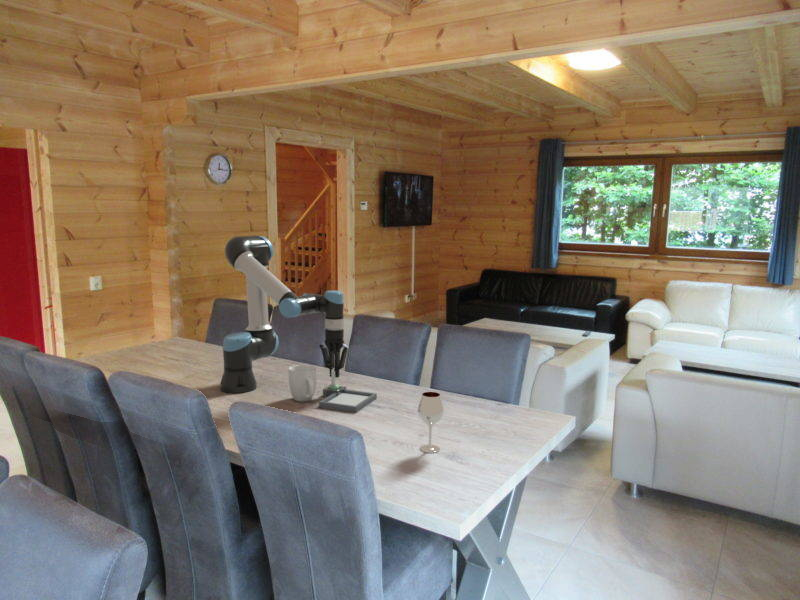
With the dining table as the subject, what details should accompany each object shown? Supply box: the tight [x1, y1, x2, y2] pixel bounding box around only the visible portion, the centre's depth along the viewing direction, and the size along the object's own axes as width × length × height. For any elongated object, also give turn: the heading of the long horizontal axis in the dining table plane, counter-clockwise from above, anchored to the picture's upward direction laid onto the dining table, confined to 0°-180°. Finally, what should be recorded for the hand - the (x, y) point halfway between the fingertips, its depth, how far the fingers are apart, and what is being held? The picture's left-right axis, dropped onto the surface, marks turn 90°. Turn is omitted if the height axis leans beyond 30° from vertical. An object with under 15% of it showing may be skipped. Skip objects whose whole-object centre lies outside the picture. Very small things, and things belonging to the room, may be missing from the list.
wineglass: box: [417, 391, 445, 454], centre depth 185 cm, size 8×8×18 cm
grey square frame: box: [322, 385, 347, 398], centre depth 242 cm, size 7×7×3 cm
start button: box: [329, 383, 340, 390], centre depth 241 cm, size 4×4×2 cm
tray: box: [318, 388, 378, 413], centre depth 232 cm, size 16×19×2 cm
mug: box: [288, 364, 318, 403], centre depth 233 cm, size 15×11×13 cm
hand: (334, 384), depth 241 cm, fingers closed
